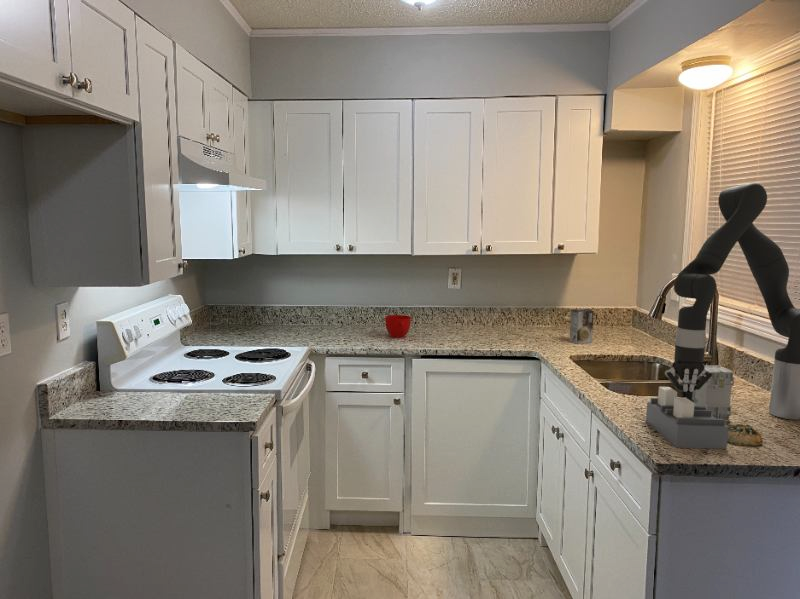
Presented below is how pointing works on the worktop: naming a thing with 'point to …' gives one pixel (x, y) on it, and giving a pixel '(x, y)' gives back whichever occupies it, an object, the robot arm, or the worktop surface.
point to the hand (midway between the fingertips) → (685, 403)
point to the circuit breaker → (716, 392)
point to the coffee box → (581, 326)
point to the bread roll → (743, 435)
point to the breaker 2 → (683, 407)
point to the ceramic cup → (397, 325)
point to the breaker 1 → (666, 396)
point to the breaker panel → (688, 427)
